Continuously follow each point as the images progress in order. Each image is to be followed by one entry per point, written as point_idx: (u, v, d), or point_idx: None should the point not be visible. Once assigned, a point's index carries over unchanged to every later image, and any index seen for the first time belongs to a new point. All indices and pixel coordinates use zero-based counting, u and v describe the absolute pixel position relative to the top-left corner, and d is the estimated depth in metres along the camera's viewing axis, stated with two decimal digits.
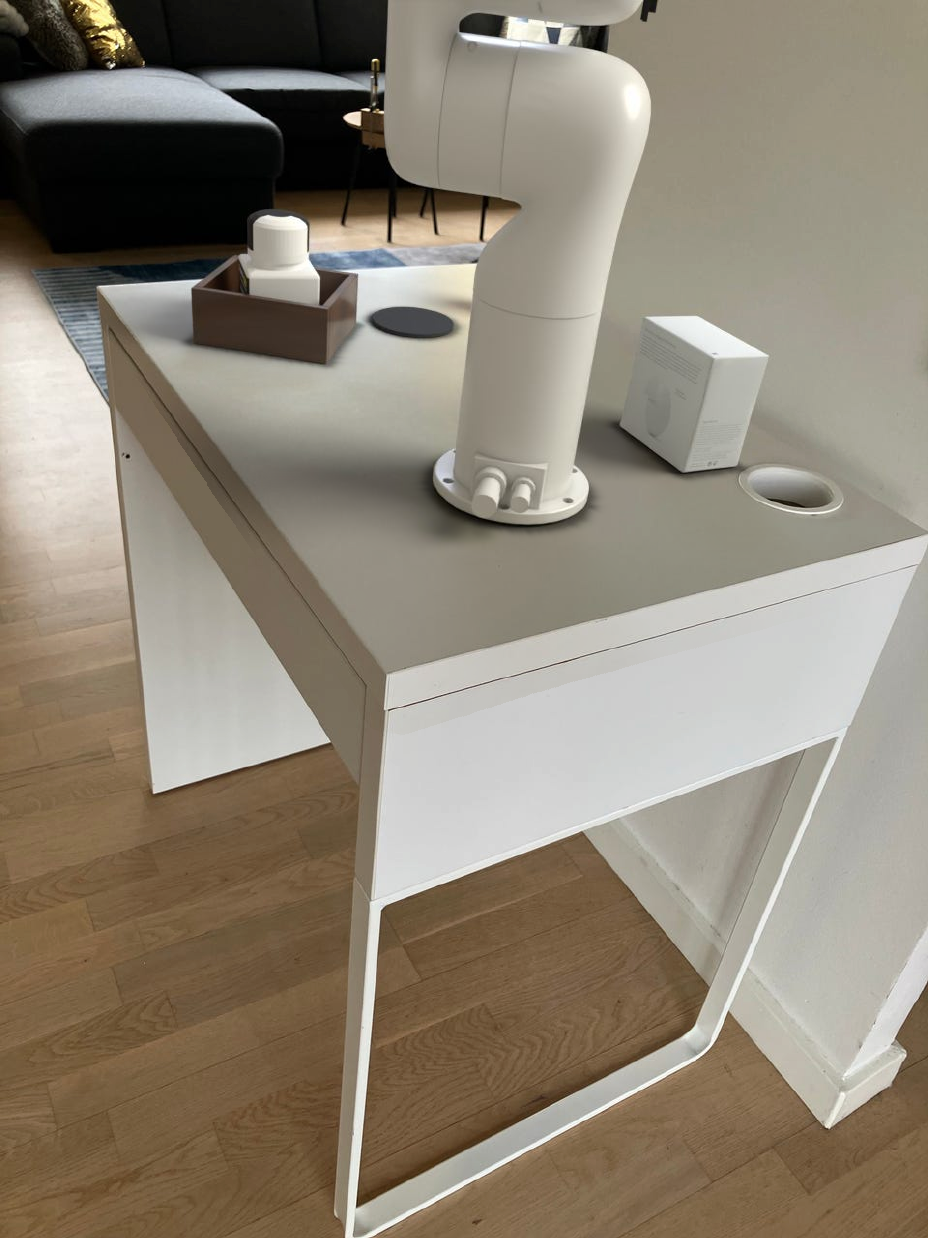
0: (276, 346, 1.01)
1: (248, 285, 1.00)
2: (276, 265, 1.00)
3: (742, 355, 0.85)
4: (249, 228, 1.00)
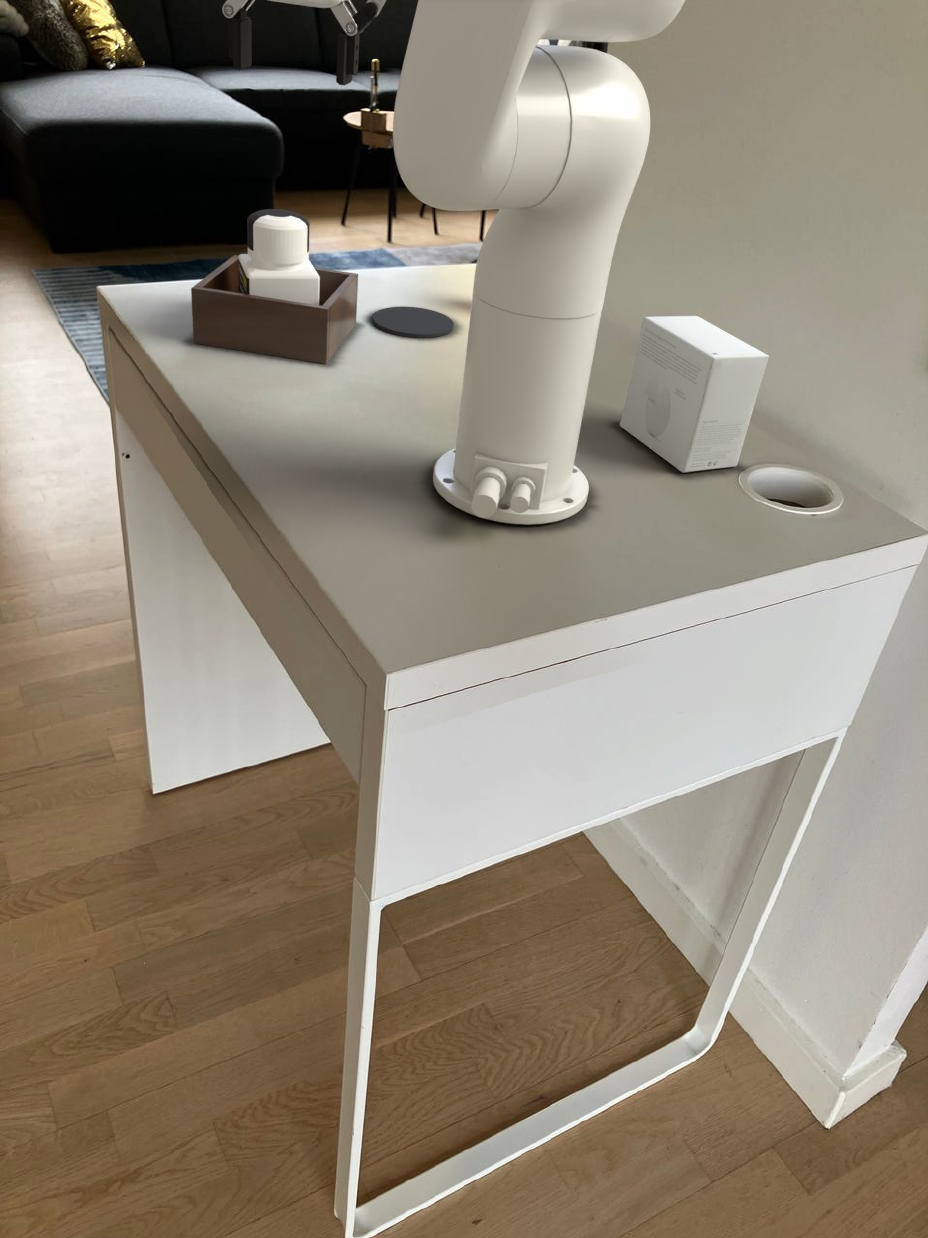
0: (276, 346, 1.01)
1: (248, 285, 1.00)
2: (276, 265, 1.00)
3: (742, 355, 0.85)
4: (249, 228, 1.00)
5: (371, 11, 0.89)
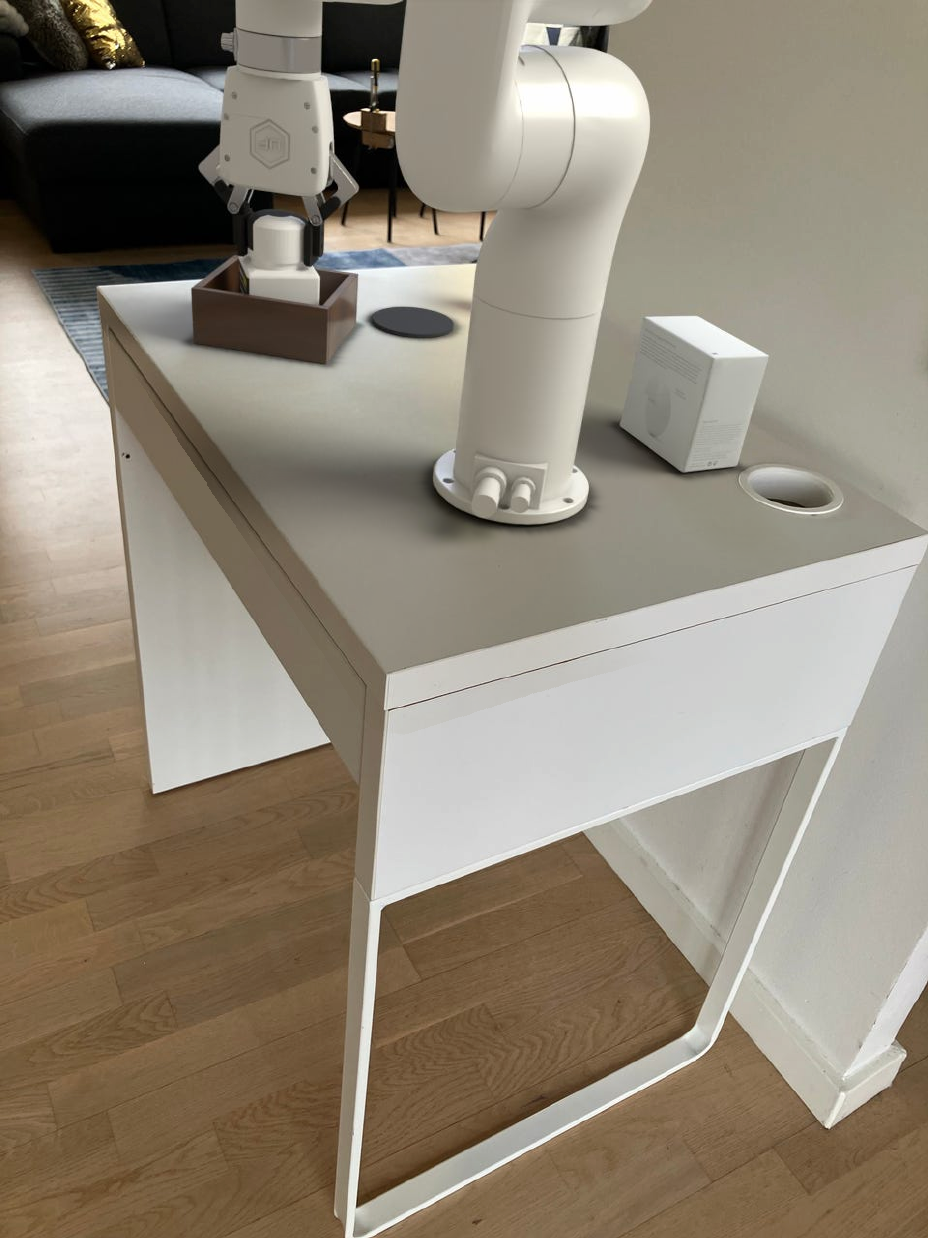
0: (276, 346, 1.01)
1: (248, 285, 1.00)
2: (276, 265, 1.00)
3: (742, 355, 0.85)
4: (249, 227, 1.00)
5: (334, 205, 0.98)
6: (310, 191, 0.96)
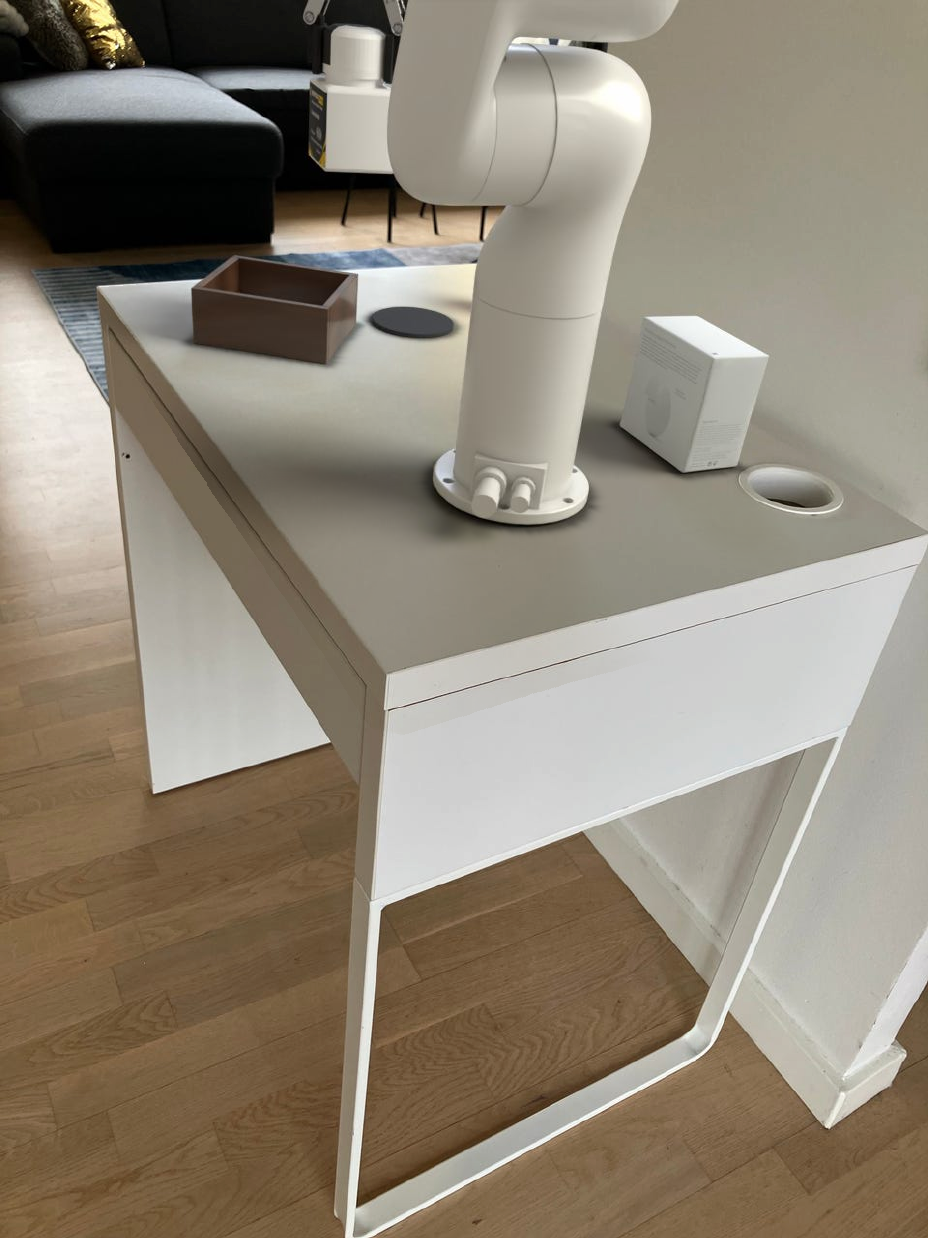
0: (276, 346, 1.01)
1: (325, 101, 0.94)
2: (354, 80, 0.94)
3: (742, 355, 0.85)
4: (325, 39, 0.94)
5: None
6: None
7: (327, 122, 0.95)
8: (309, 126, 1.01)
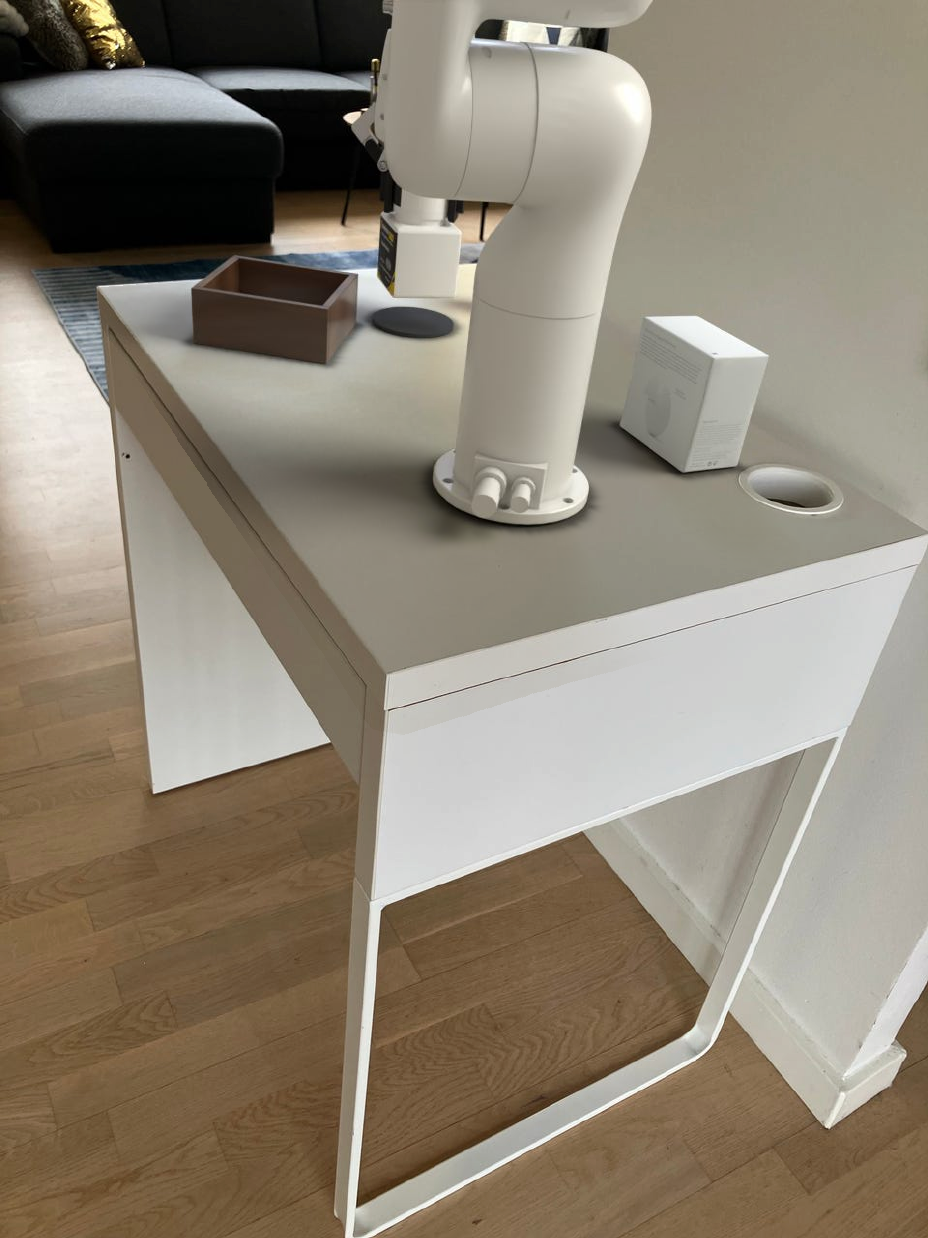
0: (276, 346, 1.01)
1: (396, 239, 1.05)
2: (422, 220, 1.05)
3: (742, 355, 0.85)
4: (397, 184, 1.05)
5: None
6: None
7: (397, 257, 1.06)
8: (378, 253, 1.12)
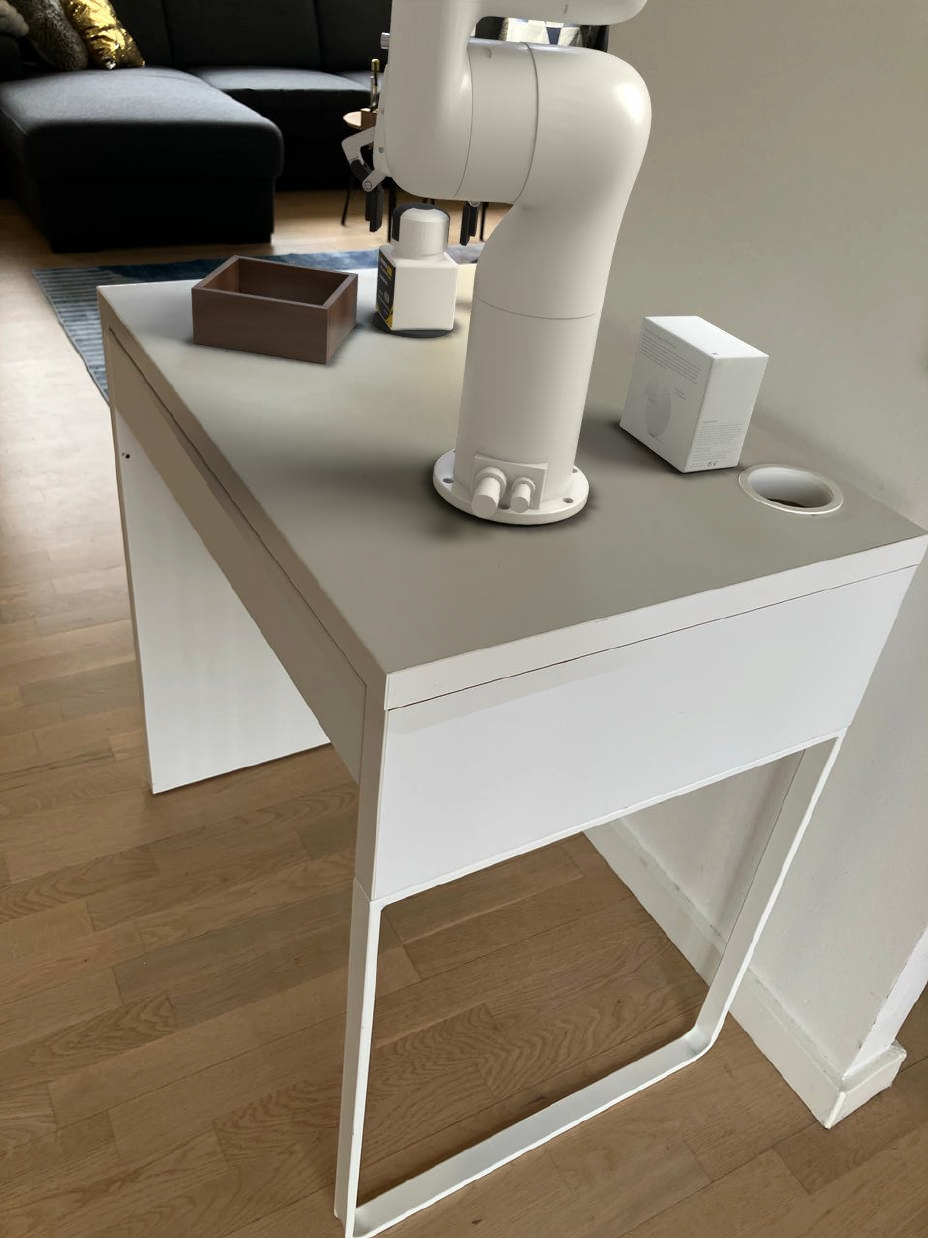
0: (276, 346, 1.01)
1: (394, 274, 1.07)
2: (420, 255, 1.07)
3: (742, 355, 0.85)
4: (395, 220, 1.06)
5: None
6: None
7: (395, 291, 1.08)
8: (377, 285, 1.13)
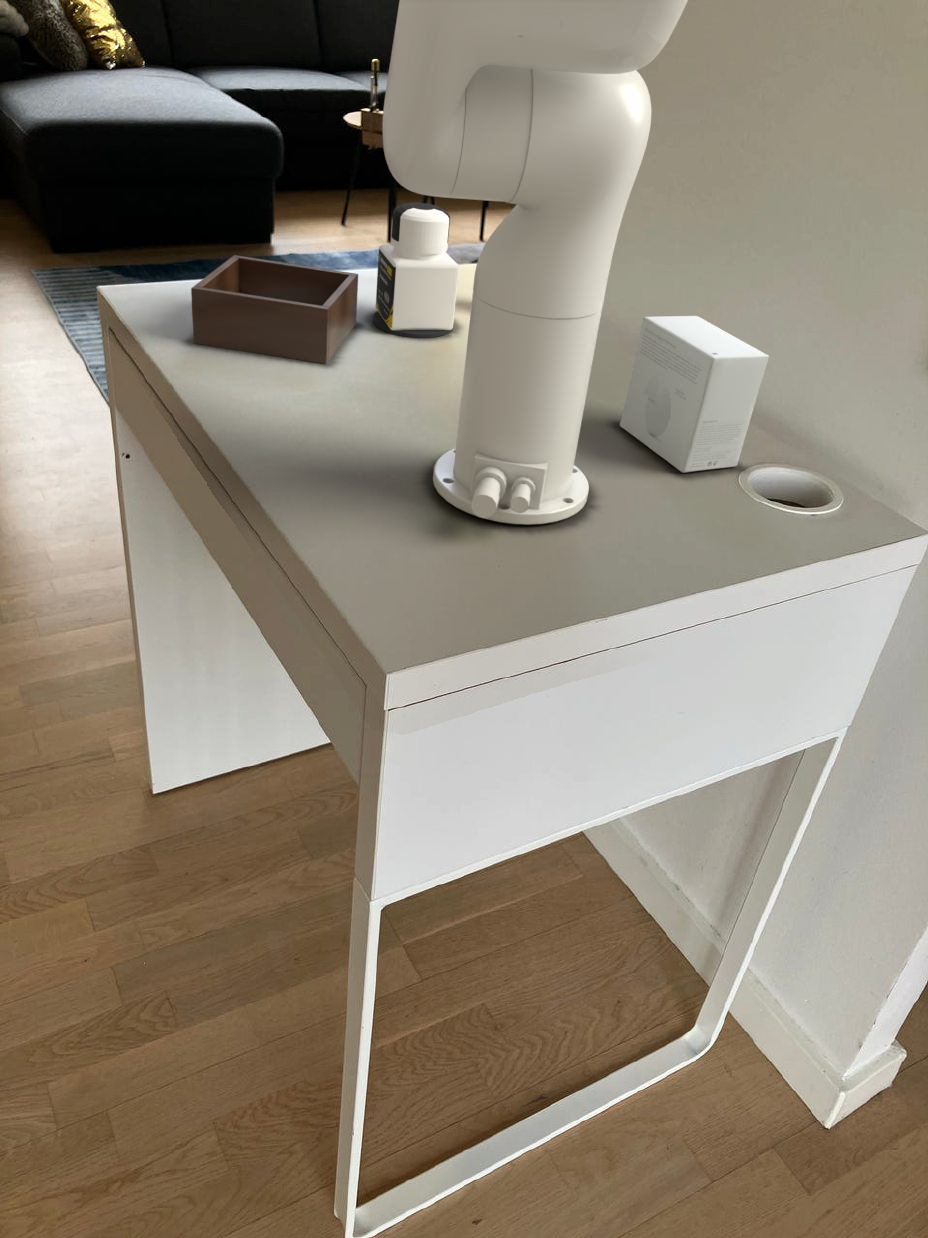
0: (276, 346, 1.01)
1: (394, 274, 1.07)
2: (420, 255, 1.07)
3: (742, 355, 0.85)
4: (395, 220, 1.06)
5: None
6: None
7: (395, 291, 1.08)
8: (377, 285, 1.13)
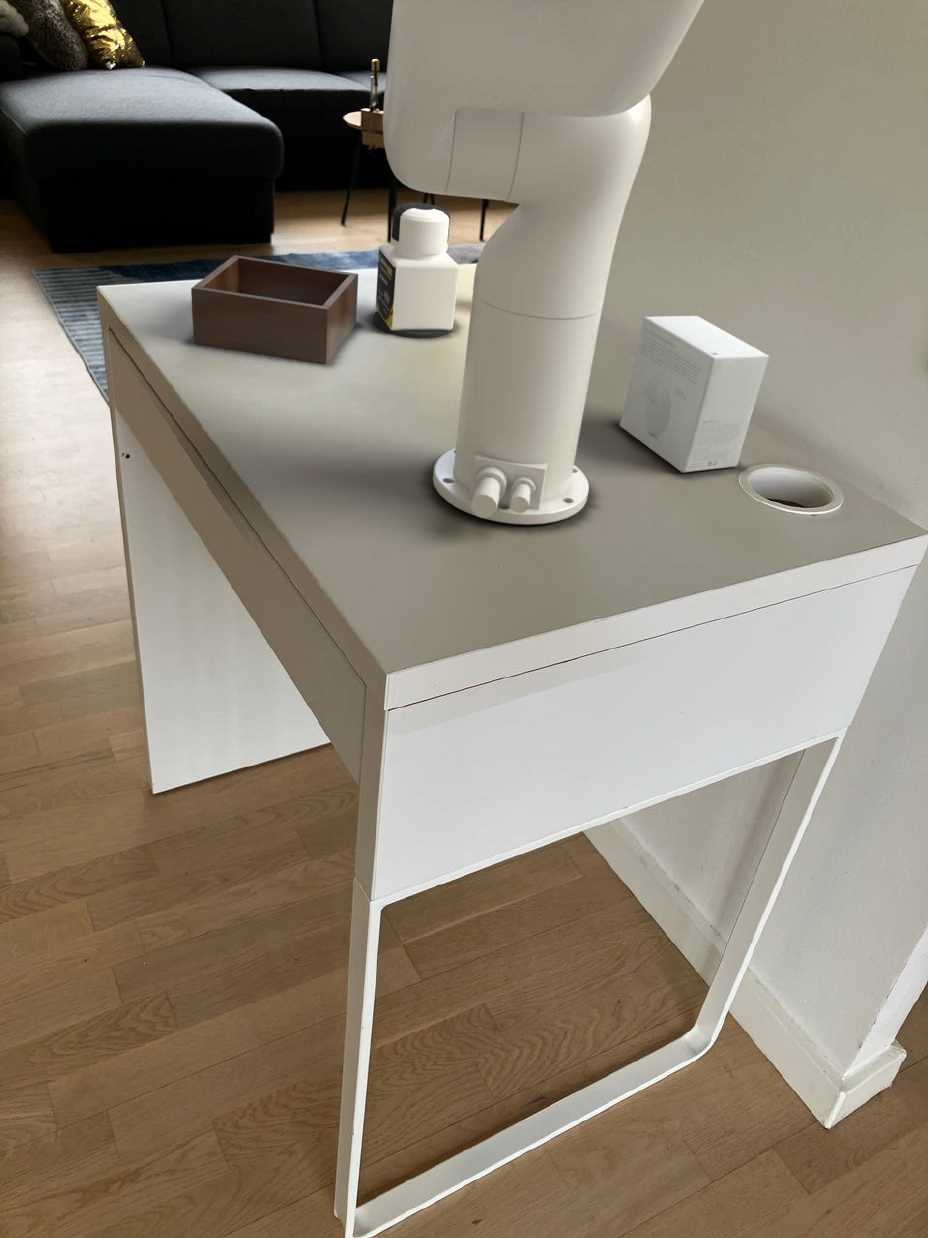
0: (276, 346, 1.01)
1: (394, 274, 1.07)
2: (420, 255, 1.07)
3: (742, 355, 0.85)
4: (395, 220, 1.06)
5: None
6: None
7: (395, 291, 1.08)
8: (377, 285, 1.13)
